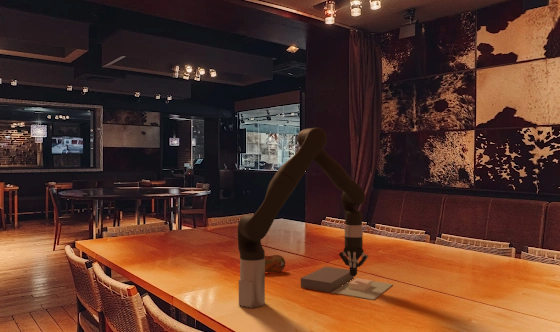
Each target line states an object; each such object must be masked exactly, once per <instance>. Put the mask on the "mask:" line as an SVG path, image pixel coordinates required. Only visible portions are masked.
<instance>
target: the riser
mask: <svg viewBox="0 0 560 332" xmlns="http://www.w3.org/2000/svg"><path fill="white" fill-rule="evenodd" d="M354 278H355V277H354V276H351V275H350V269H347V268H339V267H333V266H326V265H325V266H323V267H321V268H319V269H316V270H315V271H312V272H311V273H308V274H306V275H305V276H302V277H300V288H301V287H303V289H307V288H308V290H312V289H313V291H319V292H324V291H325V292H324V293H329V292H330V293H331V294H332V292H333V291H334V290H336V289H338V288H339V287H341V286H342V285H344V284H346V283H347V282H349V281H350V280H352V279H354Z"/></svg>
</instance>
